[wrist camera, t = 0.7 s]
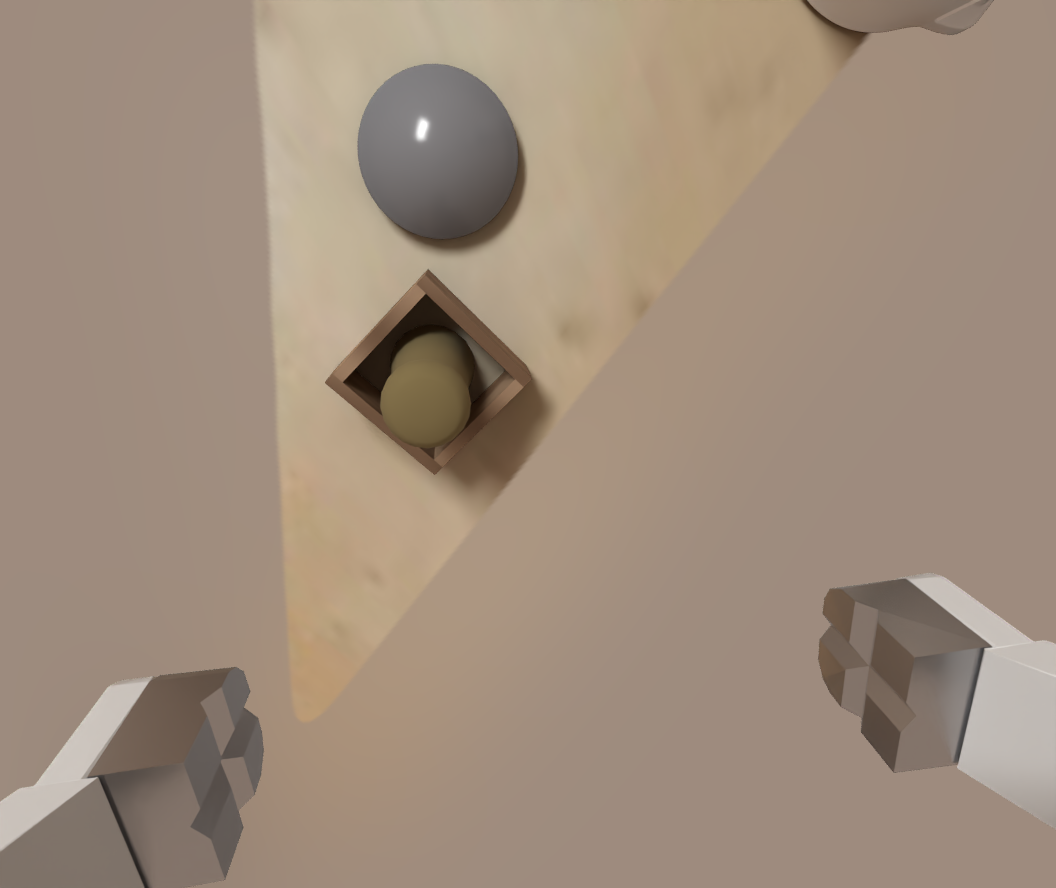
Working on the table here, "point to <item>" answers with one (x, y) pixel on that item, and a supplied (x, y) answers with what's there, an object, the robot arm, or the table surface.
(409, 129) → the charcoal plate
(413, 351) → the cork
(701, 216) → the table surface
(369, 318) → the table surface
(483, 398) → the walnut holder
